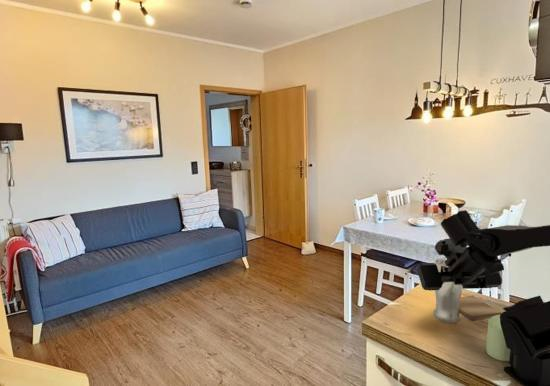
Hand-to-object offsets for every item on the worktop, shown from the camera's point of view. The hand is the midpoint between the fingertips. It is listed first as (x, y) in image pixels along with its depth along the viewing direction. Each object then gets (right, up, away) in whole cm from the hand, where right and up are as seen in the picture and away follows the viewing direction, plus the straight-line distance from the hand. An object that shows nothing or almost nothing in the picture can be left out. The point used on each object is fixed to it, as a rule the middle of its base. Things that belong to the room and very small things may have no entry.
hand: (445, 287), depth 91 cm
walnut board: (+9, -7, +4) cm, 12 cm away
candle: (+4, -10, -16) cm, 19 cm away
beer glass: (0, -8, 0) cm, 8 cm away
